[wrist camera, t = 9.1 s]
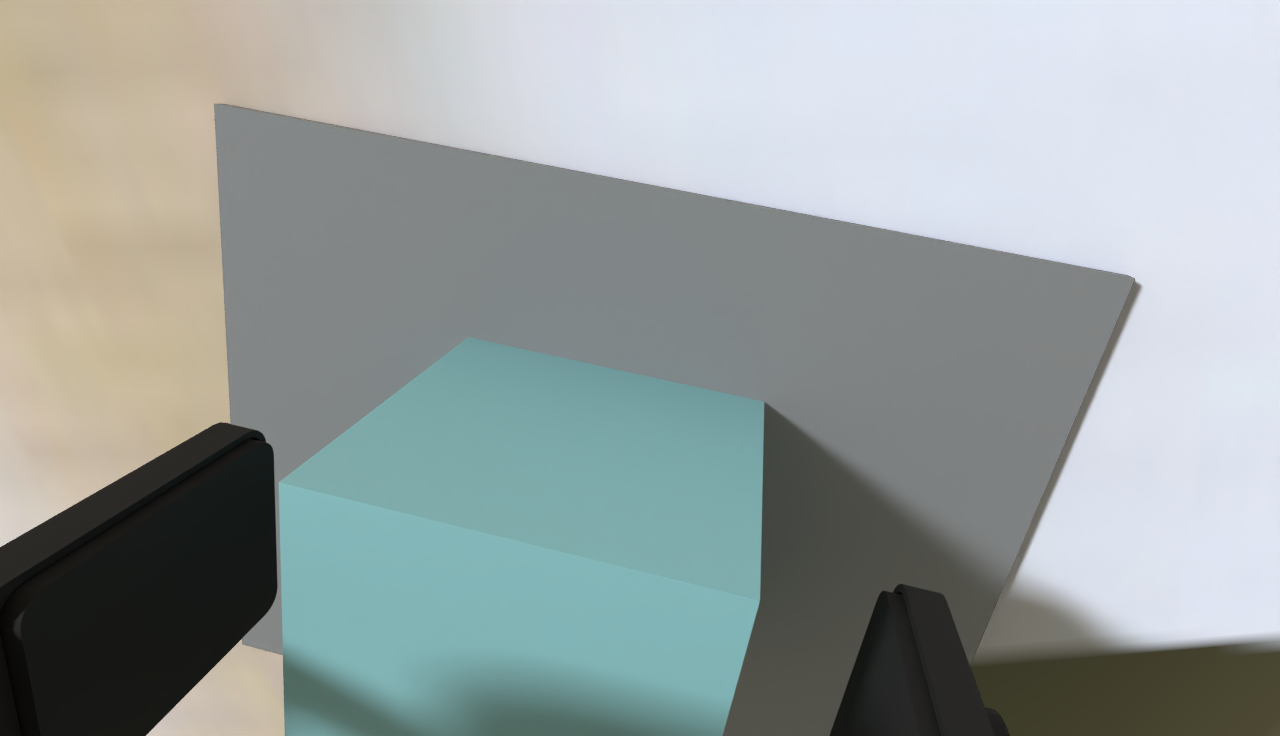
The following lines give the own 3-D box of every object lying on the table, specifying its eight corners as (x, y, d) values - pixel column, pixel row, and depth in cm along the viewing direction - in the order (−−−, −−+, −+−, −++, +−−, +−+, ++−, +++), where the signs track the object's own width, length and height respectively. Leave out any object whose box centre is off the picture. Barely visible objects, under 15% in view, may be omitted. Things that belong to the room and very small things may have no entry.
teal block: (764, 401, 12) (761, 600, 7) (703, 644, 13) (668, 930, 9) (468, 337, 12) (279, 482, 7) (448, 579, 14) (286, 818, 9)
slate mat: (1128, 275, 10) (1134, 278, 10) (900, 814, 14) (902, 822, 14) (223, 103, 12) (214, 103, 11) (248, 637, 16) (242, 644, 15)
